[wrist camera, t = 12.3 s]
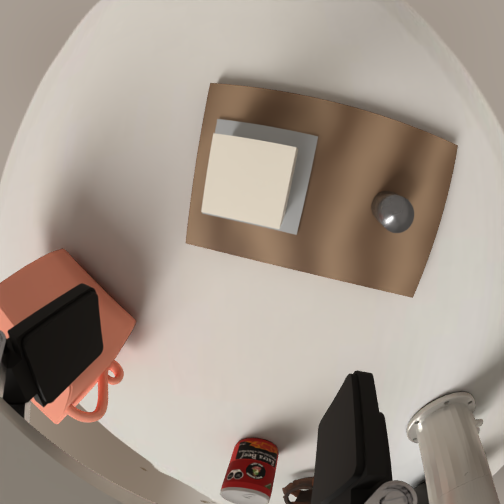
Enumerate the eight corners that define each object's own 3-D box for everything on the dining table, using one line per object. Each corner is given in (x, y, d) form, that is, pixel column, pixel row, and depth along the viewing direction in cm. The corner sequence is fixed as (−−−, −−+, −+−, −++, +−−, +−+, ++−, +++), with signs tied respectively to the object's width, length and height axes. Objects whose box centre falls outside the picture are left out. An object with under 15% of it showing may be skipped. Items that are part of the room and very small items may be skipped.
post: (404, 195, 23) (418, 202, 20) (396, 226, 24) (408, 237, 21) (375, 186, 23) (385, 191, 20) (367, 218, 24) (376, 227, 21)
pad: (317, 136, 23) (318, 136, 22) (296, 233, 26) (296, 234, 26) (218, 119, 24) (217, 118, 23) (203, 212, 27) (202, 213, 27)
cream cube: (298, 149, 23) (296, 147, 18) (284, 215, 25) (279, 229, 21) (231, 137, 24) (213, 133, 19) (220, 201, 26) (201, 212, 21)
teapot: (113, 398, 44) (65, 462, 28) (32, 318, 42) (-26, 364, 26) (168, 333, 35) (93, 434, 18) (55, 223, 33) (-44, 267, 17)
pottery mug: (278, 484, 46) (271, 504, 38) (300, 457, 47) (295, 476, 39) (325, 502, 42) (323, 522, 35) (348, 475, 43) (349, 495, 35)
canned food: (285, 443, 39) (276, 498, 29) (270, 461, 42) (260, 509, 32) (241, 431, 39) (225, 486, 29) (231, 450, 42) (215, 498, 32)
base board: (451, 145, 21) (457, 145, 20) (408, 291, 27) (412, 297, 26) (215, 86, 24) (210, 83, 23) (191, 238, 30) (185, 243, 28)
